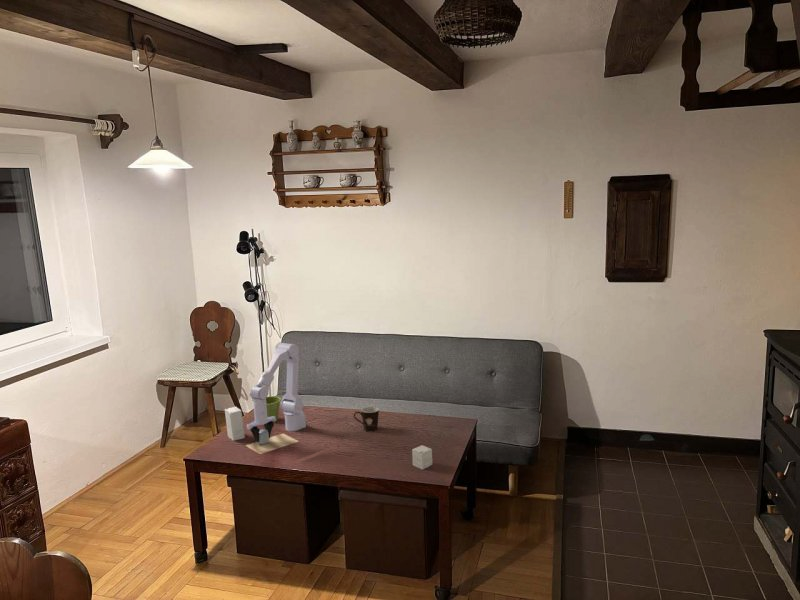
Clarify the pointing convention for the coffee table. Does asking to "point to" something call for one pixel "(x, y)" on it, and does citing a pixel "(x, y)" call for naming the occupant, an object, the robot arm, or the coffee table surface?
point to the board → (272, 443)
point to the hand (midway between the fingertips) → (262, 439)
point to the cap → (263, 436)
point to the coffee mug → (369, 418)
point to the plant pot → (273, 406)
